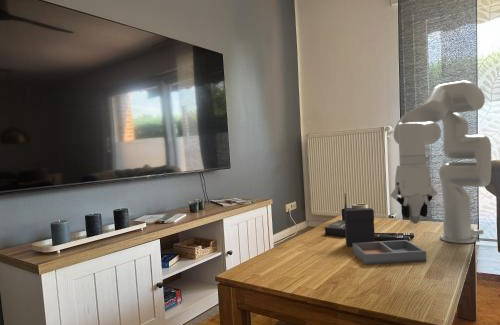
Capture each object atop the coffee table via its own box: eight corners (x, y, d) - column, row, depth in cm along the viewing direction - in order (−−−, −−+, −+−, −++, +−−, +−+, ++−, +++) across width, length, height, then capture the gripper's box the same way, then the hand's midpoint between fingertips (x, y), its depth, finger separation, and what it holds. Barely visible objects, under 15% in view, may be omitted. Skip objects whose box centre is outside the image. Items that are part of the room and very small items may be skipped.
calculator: (372, 243, 139) (371, 207, 138) (375, 246, 134) (373, 209, 134) (345, 244, 140) (343, 208, 139) (347, 247, 136) (345, 210, 135)
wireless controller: (350, 238, 148) (348, 200, 148) (321, 235, 157) (319, 198, 156) (366, 228, 164) (364, 193, 163) (339, 225, 173) (337, 192, 172)
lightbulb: (423, 221, 111) (422, 188, 110) (427, 225, 105) (425, 191, 104) (403, 221, 113) (402, 188, 112) (406, 225, 107) (404, 191, 106)
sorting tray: (407, 248, 129) (406, 239, 129) (426, 261, 115) (426, 251, 115) (352, 252, 129) (352, 243, 129) (365, 264, 115) (365, 254, 115)
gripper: (431, 158, 112) (433, 212, 113) (381, 162, 112) (383, 216, 112) (445, 159, 104) (447, 217, 105) (391, 163, 104) (393, 221, 105)
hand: (414, 216), depth 109 cm, fingers closed on lightbulb, 5 cm apart
